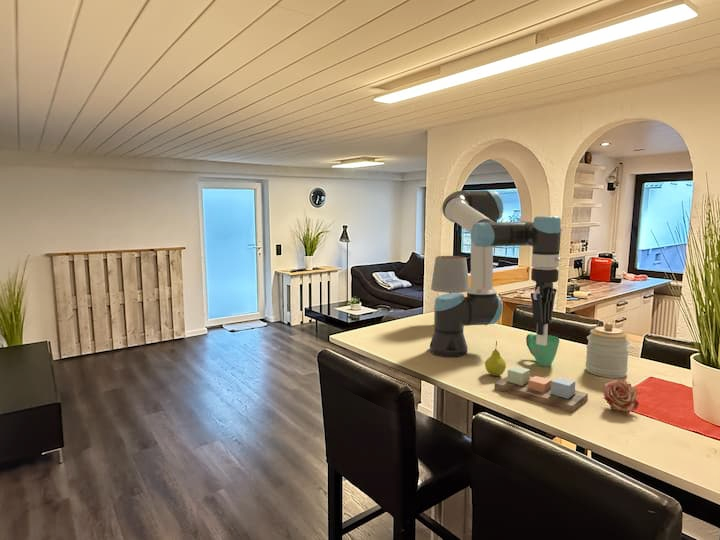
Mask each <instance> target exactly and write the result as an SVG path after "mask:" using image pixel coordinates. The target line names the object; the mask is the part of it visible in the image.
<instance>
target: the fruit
mask: <svg viewBox="0 0 720 540" xmlns="http://www.w3.org/2000/svg"><path fill="white" fill-rule="evenodd" d="M497 345H498V341H497V340H496V341H495V347H497ZM484 366H485V370H486V372H488V374H489V375H491V376H492V377H498V376H500V375H503V374H504V372H505V370H506V368H507V365H506V361H505V359H503V357H502V356H501V353H500V351H499V350H498V349H497V348H494V350H493V351H492V352H491V355H490V356H488V358H487V359H486V360H485V362H484Z"/></svg>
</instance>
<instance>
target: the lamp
mask: <svg viewBox="0 0 720 540" xmlns="http://www.w3.org/2000/svg"><path fill="white" fill-rule="evenodd" d="M469 279H470V278H469V271H468V263H467V257H466V256H461V255H439V256H438V255H437V256H435V260H434V266H433V273H432V279H431V287H430V289H431V291H434V292H437V293H445V294H449V293H465V292H466V293H467V291H468V290H469V289H470V288H471V286H470V281H469Z"/></svg>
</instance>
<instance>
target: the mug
mask: <svg viewBox="0 0 720 540" xmlns="http://www.w3.org/2000/svg"><path fill="white" fill-rule="evenodd" d="M536 335H537V334H534V333H528V334H527V335H526V337H525V340H526V346H527V348H528V349H529V350H528V351H529V352H530V354H531V355H532V357H534V360H535V363H536V364H537V365H538V366H541V367H551V366H552V364H553V362H554V360H555V357H556V355H557V351H558V349H559V344H560V338H559V337H558V336H554V335H550V334H547V345H545V346H543V345H539V344H536Z"/></svg>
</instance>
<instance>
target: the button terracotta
mask: <svg viewBox="0 0 720 540" xmlns="http://www.w3.org/2000/svg"><path fill="white" fill-rule="evenodd" d="M530 378H531V379H530V380H529V383H528V389H531V390H535V391H538V392H542V393H546V392H548V391H549V390H551V381H553V380H552V379H550V378H546V377H541V376H538V375H534V376H533V377H530Z"/></svg>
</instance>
